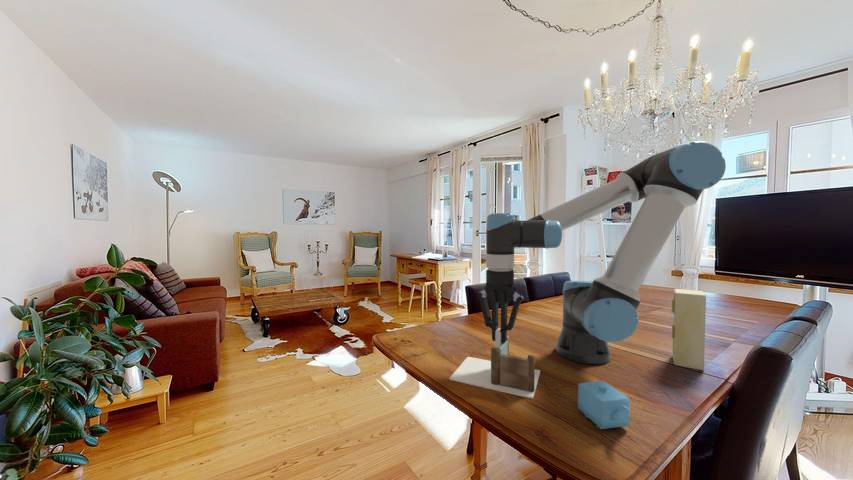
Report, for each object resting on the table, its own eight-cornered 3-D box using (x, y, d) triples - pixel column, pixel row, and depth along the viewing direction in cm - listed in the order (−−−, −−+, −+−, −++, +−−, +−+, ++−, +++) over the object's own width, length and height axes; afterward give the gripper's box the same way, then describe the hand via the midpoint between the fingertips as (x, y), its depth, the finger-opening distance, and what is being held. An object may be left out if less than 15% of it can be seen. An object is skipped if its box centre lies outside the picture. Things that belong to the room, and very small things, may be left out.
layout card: (540, 371, 86) (540, 369, 86) (533, 398, 73) (533, 396, 73) (467, 357, 96) (467, 356, 96) (449, 379, 82) (449, 377, 82)
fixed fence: (535, 388, 77) (535, 354, 76) (533, 393, 75) (534, 358, 74) (492, 379, 81) (492, 347, 81) (489, 383, 79) (489, 350, 79)
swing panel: (500, 378, 81) (500, 348, 81) (494, 377, 82) (494, 347, 81) (509, 363, 90) (509, 335, 90) (503, 362, 91) (503, 335, 90)
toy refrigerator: (669, 355, 97) (671, 287, 96) (700, 361, 93) (703, 290, 92) (670, 364, 90) (672, 292, 89) (704, 371, 86) (707, 295, 85)
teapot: (643, 441, 59) (644, 402, 58) (614, 446, 58) (615, 406, 57) (597, 405, 70) (598, 372, 70) (573, 408, 69) (573, 375, 69)
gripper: (526, 269, 87) (525, 352, 88) (481, 266, 93) (481, 344, 94) (520, 272, 80) (519, 362, 81) (472, 269, 86) (472, 353, 88)
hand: (499, 352), depth 88 cm, fingers closed
